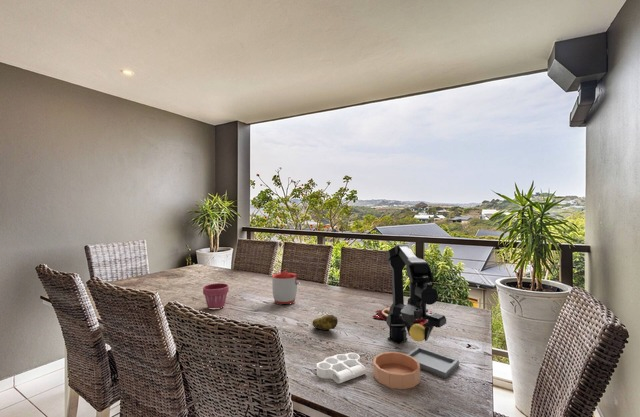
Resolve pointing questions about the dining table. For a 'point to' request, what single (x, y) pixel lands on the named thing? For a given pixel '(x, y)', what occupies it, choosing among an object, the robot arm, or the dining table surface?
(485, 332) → the dining table surface
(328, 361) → the white brass knuckles
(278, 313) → the dining table surface
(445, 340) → the dining table surface
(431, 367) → the tray
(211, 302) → the plant pot
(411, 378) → the bowl
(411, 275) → the robot arm
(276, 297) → the citrus juicer
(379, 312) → the plate with food
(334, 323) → the potato
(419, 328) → the ball
